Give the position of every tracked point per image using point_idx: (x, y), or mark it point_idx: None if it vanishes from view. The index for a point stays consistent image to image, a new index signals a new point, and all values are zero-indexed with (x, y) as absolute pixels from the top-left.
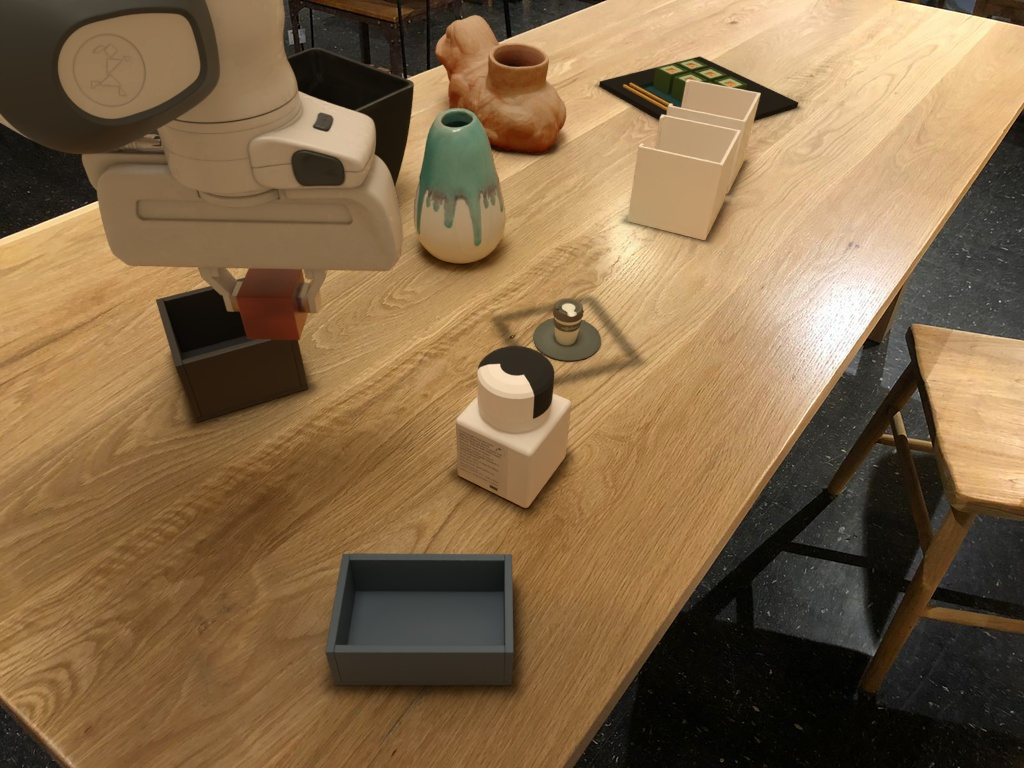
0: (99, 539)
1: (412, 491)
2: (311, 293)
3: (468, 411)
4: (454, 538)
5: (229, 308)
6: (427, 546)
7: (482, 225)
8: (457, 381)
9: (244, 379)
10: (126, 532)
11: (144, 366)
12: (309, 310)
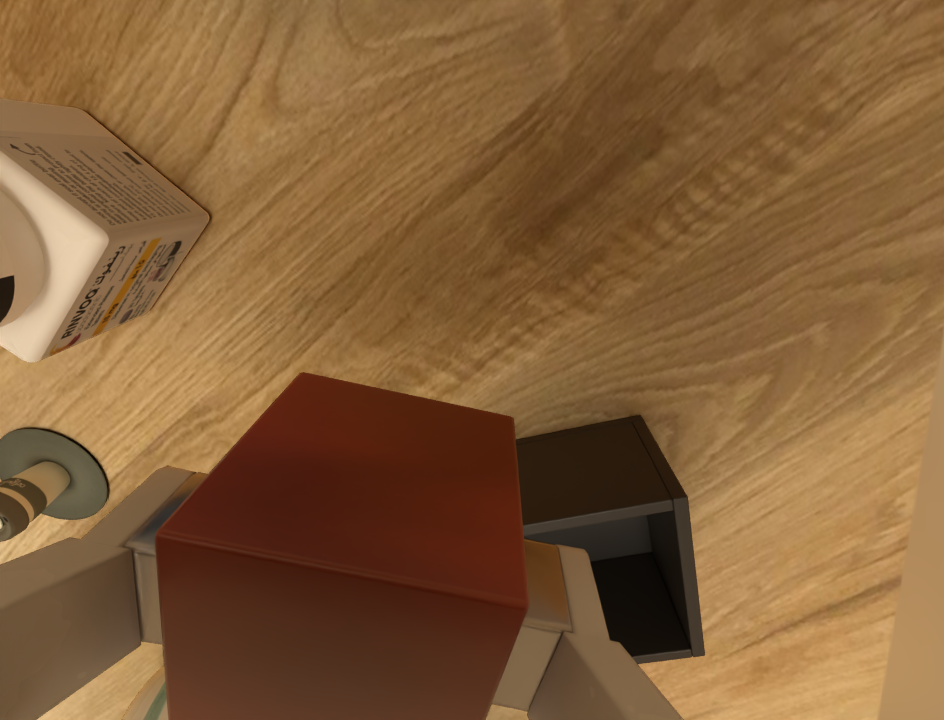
0: (818, 196)
1: (290, 196)
2: (67, 561)
3: (73, 254)
4: (209, 65)
5: (576, 560)
6: (258, 56)
7: (145, 712)
8: (225, 422)
9: (559, 468)
10: (772, 202)
11: (708, 538)
12: (186, 480)
